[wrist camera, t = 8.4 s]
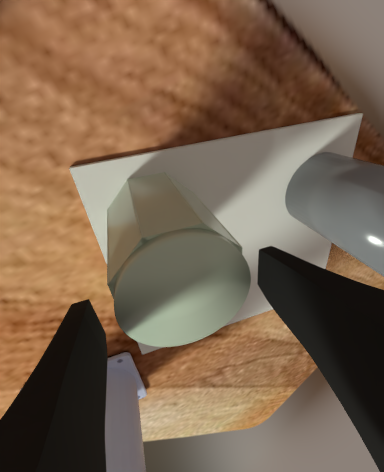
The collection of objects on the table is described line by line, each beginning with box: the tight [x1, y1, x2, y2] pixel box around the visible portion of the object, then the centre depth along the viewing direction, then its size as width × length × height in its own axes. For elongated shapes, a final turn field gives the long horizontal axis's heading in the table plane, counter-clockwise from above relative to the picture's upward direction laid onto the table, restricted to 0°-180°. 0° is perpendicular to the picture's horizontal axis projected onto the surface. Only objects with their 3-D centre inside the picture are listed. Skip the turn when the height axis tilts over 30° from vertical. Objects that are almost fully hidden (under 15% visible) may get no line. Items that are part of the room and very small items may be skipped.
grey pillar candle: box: [285, 152, 384, 276], centre depth 16 cm, size 6×6×8 cm
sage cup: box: [107, 172, 251, 347], centre depth 13 cm, size 6×6×8 cm
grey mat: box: [69, 113, 363, 355], centre depth 20 cm, size 20×18×1 cm
